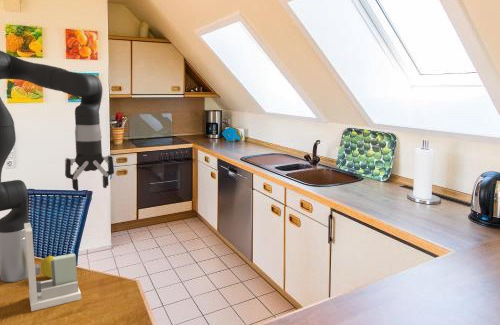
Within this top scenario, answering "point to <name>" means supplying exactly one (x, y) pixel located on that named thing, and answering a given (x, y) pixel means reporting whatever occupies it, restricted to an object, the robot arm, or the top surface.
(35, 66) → the robot arm
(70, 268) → the pale green slab
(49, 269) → the lemon
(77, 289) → the white tall l-shaped piece
